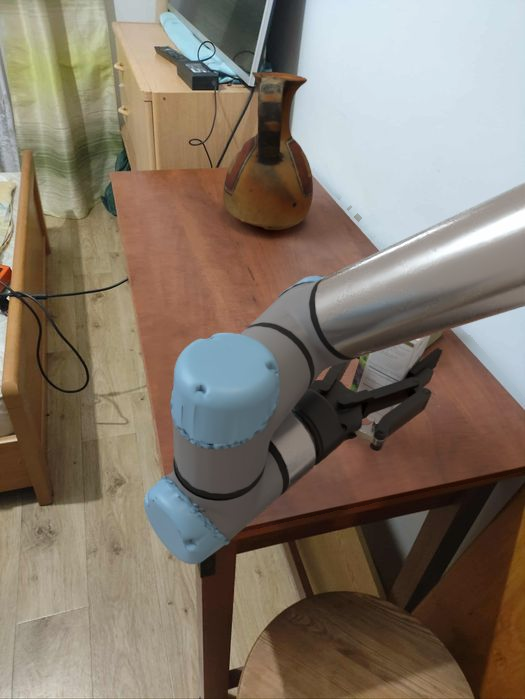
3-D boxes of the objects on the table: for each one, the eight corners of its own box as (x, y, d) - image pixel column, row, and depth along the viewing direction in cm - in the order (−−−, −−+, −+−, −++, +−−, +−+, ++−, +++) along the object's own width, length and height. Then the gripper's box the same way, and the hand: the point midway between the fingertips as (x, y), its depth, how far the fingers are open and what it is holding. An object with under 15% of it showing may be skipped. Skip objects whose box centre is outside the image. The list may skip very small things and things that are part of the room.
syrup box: (363, 383, 69) (391, 296, 60) (403, 404, 67) (438, 316, 58) (343, 407, 66) (370, 317, 56) (385, 430, 63) (419, 340, 54)
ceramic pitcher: (308, 205, 124) (332, 69, 105) (306, 246, 109) (334, 95, 89) (228, 194, 124) (237, 56, 105) (215, 233, 109) (223, 80, 89)
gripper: (223, 408, 58) (345, 329, 71) (359, 522, 48) (470, 406, 62) (227, 358, 53) (357, 284, 66) (379, 474, 44) (494, 360, 57)
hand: (411, 343), depth 64 cm, fingers closed on syrup box, 6 cm apart
